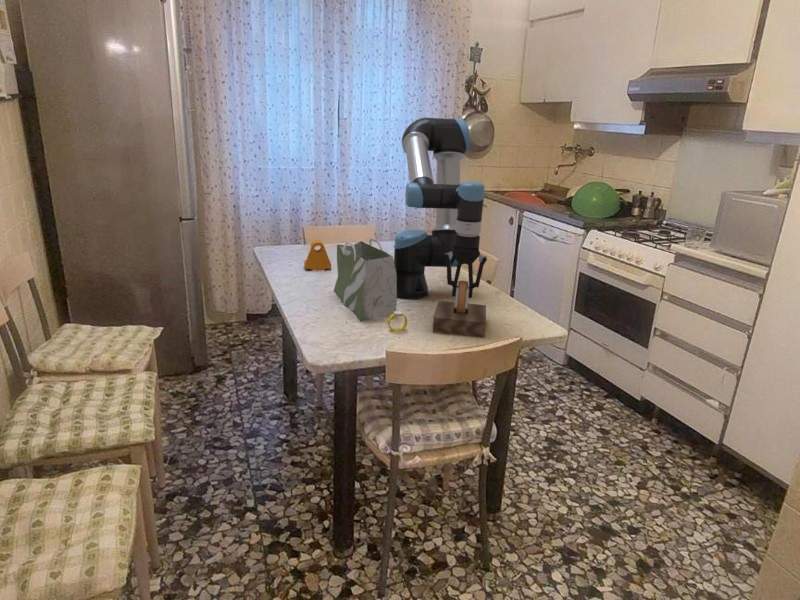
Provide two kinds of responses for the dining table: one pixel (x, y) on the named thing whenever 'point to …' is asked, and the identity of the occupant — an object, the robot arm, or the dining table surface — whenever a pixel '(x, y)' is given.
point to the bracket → (317, 257)
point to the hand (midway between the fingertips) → (461, 306)
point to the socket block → (459, 319)
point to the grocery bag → (366, 280)
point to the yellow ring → (397, 313)
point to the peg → (462, 297)
